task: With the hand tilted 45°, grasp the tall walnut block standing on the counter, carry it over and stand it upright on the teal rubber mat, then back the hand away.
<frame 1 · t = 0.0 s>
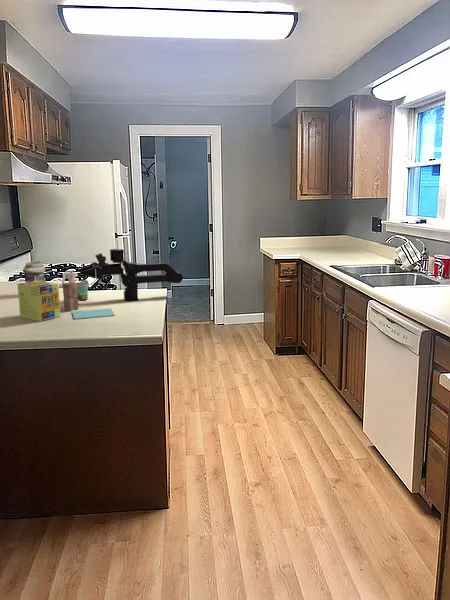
hand: (79, 271, 254), 17 cm above the worktop, tool horizontal, fingers open, 9 cm apart
portable electronic device stand: (69, 287, 303), on the worktop
food container: (83, 301, 264), on the worktop
teal mat: (93, 314, 235), on the worktop
protein box: (40, 317, 230), on the worktop
walnut block: (71, 309, 244), on the worktop
apothecary jar: (36, 295, 280), on the worktop
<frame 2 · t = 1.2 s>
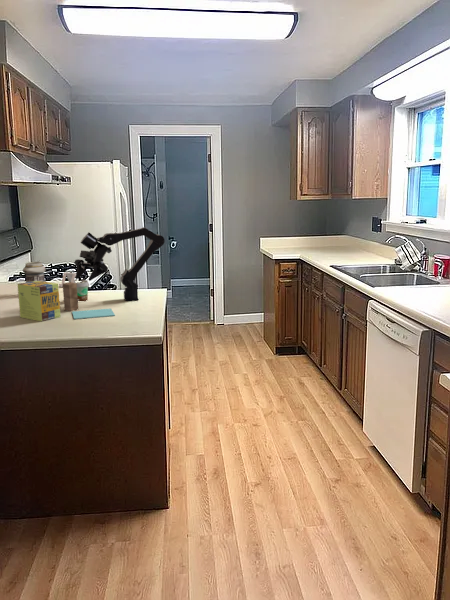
hand: (82, 279, 247), 14 cm above the worktop, tool tilted 45°, fingers open, 9 cm apart
nothing on the worktop moved.
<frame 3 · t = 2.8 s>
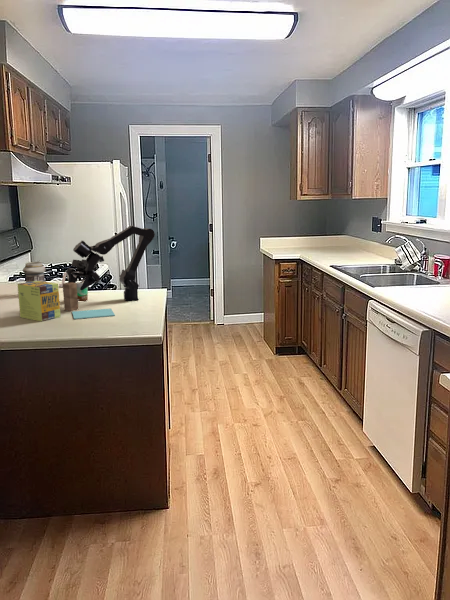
hand: (74, 288, 244), 10 cm above the worktop, tool tilted 45°, fingers open, 9 cm apart
nothing on the worktop moved.
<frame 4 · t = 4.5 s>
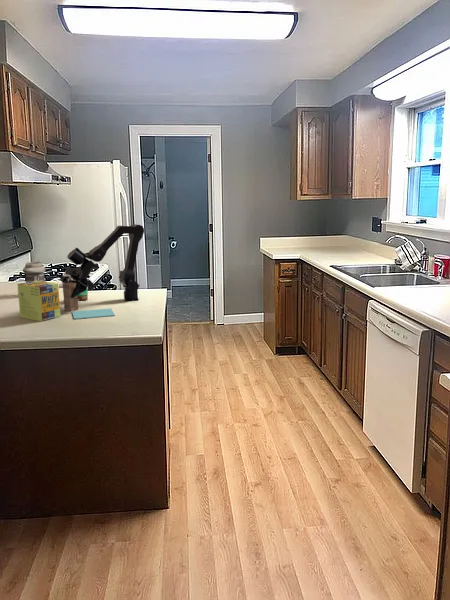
hand: (68, 296, 241), 7 cm above the worktop, tool tilted 45°, fingers closed on walnut block, 4 cm apart
walnut block: (71, 309, 244), on the worktop, touching gripper
everything else where it was.
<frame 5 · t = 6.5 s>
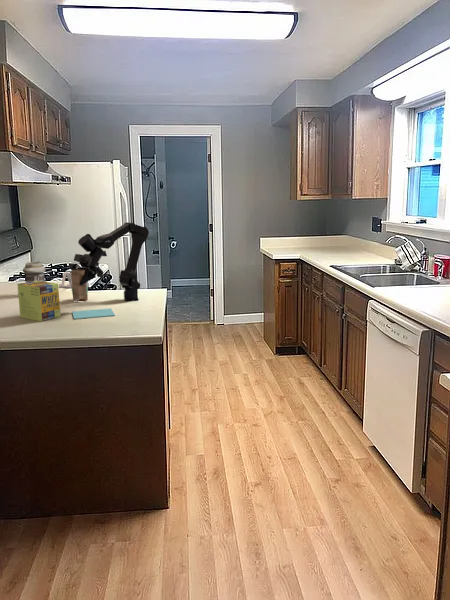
hand: (76, 284, 236), 13 cm above the worktop, tool tilted 45°, fingers closed on walnut block, 4 cm apart
walnut block: (80, 297, 238), point 7 cm above the worktop, touching gripper
everything else where it was.
when the fingers open (8 cm above the worktop, at t = 8.4 s): walnut block drops 1 cm, resting on teal mat.
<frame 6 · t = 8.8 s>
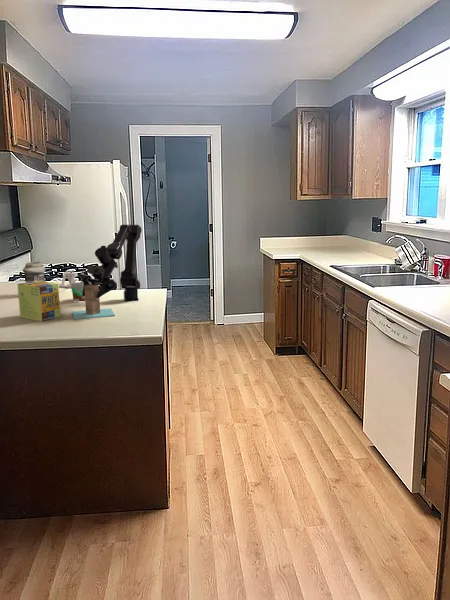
hand: (89, 296, 232), 9 cm above the worktop, tool tilted 45°, fingers open, 9 cm apart
walnut block: (93, 313, 235), resting on teal mat
everything else where it was.
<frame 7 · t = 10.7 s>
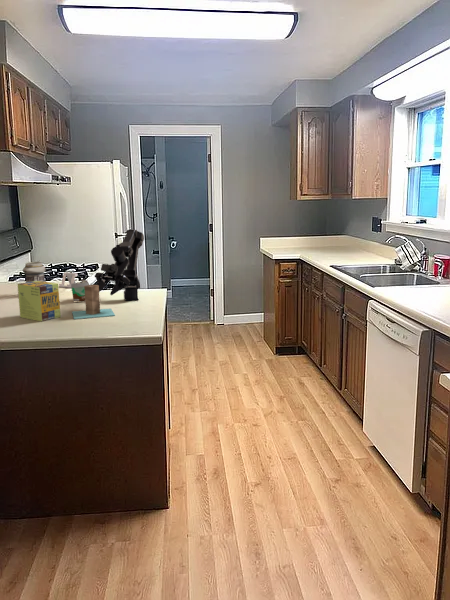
hand: (103, 293, 239), 8 cm above the worktop, tool tilted 45°, fingers open, 9 cm apart
nothing on the worktop moved.
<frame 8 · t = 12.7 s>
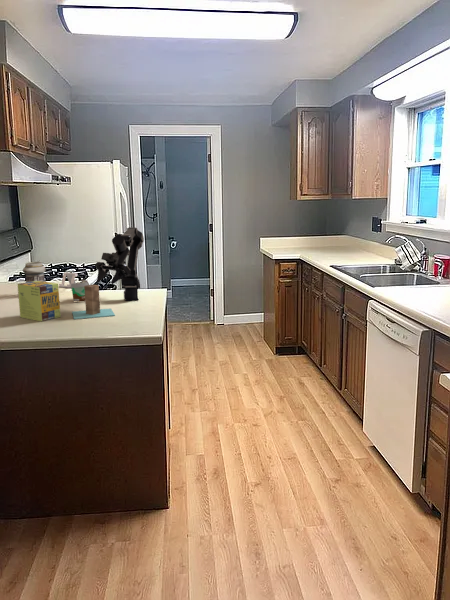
hand: (104, 282, 238), 14 cm above the worktop, tool tilted 45°, fingers open, 9 cm apart
nothing on the worktop moved.
at the end: walnut block inside the target area on the teal mat (0.0 cm from its centre), point 0.5 cm above the teal mat's base; walnut block tilted 0°; the gripper is holding nothing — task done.
